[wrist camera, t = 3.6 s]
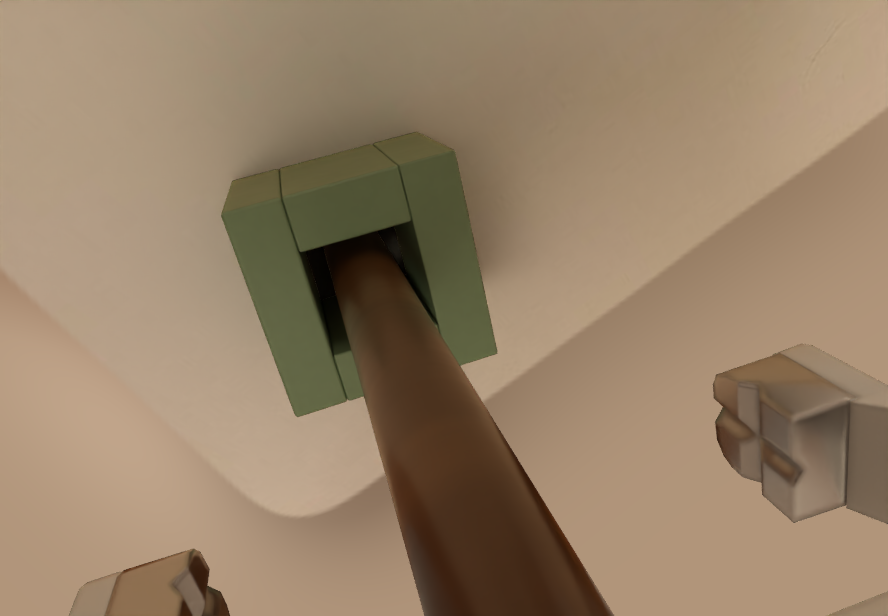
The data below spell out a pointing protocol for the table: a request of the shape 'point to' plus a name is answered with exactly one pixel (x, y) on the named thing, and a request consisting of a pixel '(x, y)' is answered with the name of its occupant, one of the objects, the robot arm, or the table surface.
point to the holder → (343, 217)
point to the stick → (449, 459)
